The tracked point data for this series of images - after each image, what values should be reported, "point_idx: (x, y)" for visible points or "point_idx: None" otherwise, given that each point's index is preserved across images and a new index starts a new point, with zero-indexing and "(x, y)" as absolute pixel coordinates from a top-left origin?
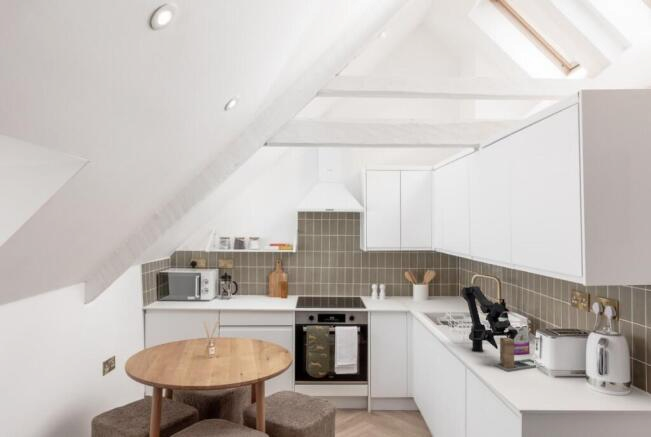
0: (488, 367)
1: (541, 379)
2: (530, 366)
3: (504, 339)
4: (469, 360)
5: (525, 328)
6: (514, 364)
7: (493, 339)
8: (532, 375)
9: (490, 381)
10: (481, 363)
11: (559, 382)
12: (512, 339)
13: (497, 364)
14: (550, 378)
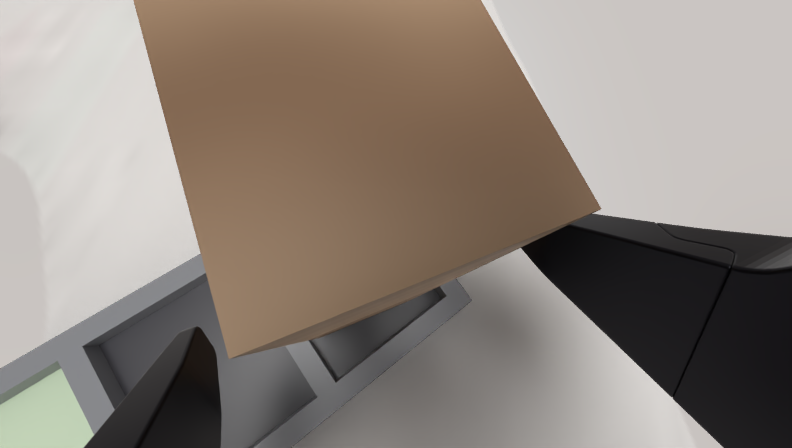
0: (503, 265)
1: (132, 71)
2: (92, 316)
3: (463, 42)
4: (669, 437)
5: None
6: (246, 416)
7: (721, 248)
8: (171, 144)
9: (491, 4)
10: (562, 369)
11: (6, 31)
12: (166, 72)
13: (434, 305)
14: (34, 101)
